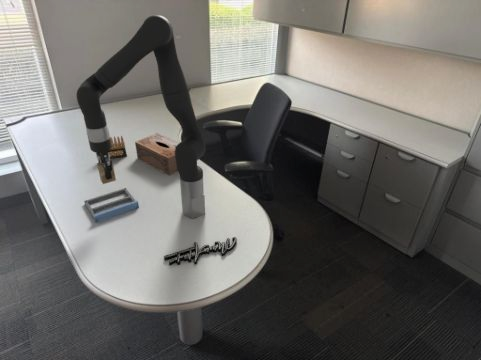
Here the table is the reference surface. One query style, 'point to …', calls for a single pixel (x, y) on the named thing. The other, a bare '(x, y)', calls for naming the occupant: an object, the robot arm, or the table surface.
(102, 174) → the plug block
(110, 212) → the organizer
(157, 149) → the tissue box cover
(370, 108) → the table surface
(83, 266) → the table surface
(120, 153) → the ammunition clip
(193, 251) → the nameplate
